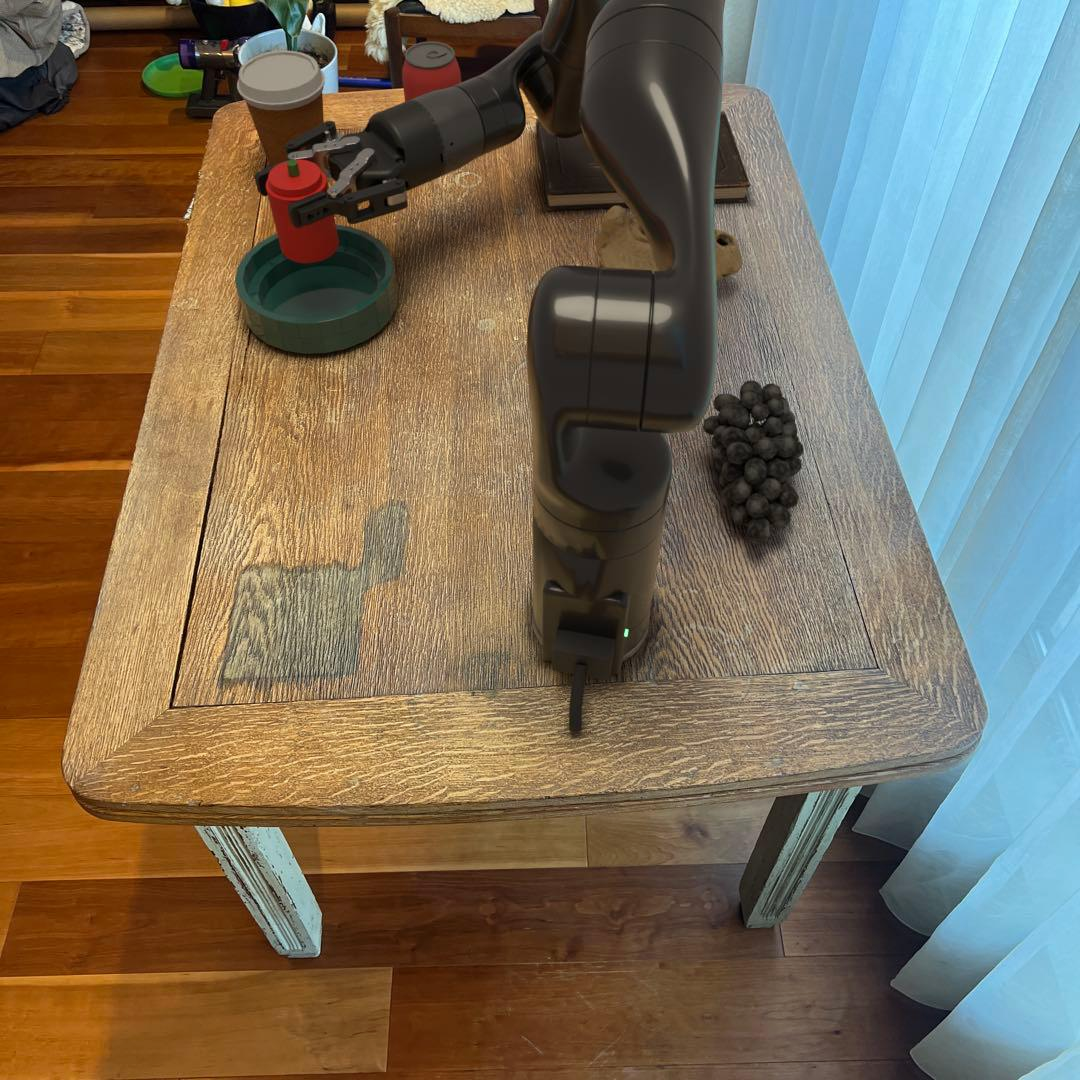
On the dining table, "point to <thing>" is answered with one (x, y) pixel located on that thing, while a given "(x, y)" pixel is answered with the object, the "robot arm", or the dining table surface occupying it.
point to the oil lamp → (631, 249)
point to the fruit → (756, 457)
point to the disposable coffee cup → (282, 98)
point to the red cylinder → (289, 187)
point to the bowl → (318, 294)
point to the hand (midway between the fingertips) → (274, 201)
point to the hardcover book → (585, 186)
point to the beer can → (429, 69)
